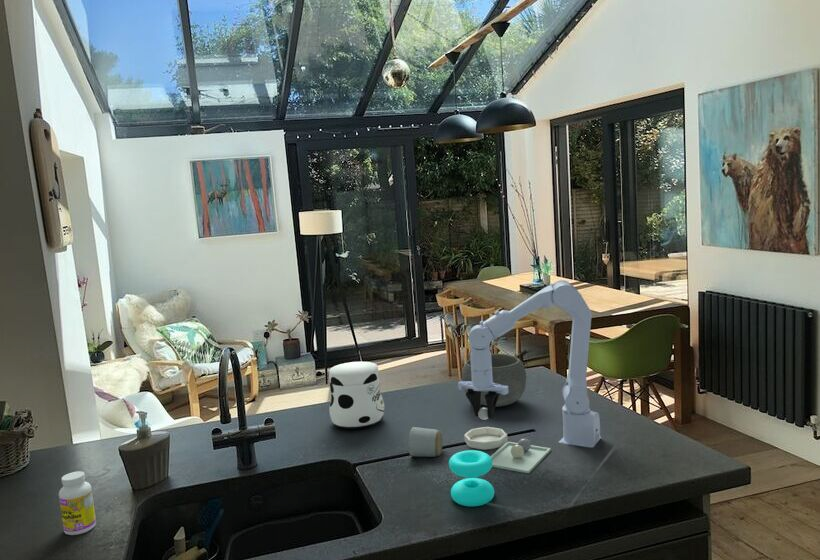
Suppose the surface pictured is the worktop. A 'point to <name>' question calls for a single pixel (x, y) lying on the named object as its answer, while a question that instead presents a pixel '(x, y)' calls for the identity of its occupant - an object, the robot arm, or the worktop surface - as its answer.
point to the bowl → (502, 377)
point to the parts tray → (522, 464)
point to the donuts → (471, 488)
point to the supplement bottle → (76, 504)
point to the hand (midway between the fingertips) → (484, 416)
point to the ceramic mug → (425, 442)
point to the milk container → (355, 395)
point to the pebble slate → (525, 444)
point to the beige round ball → (517, 451)
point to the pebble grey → (483, 413)
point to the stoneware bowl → (485, 438)
